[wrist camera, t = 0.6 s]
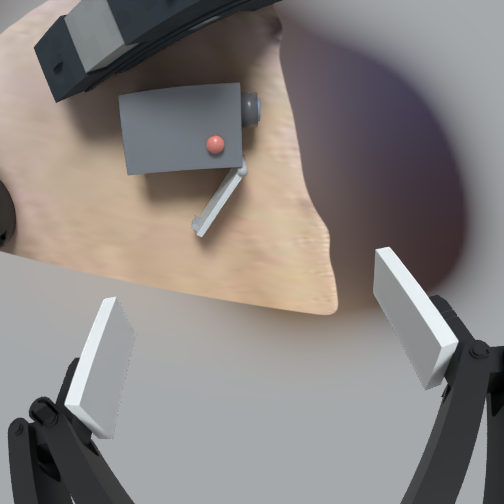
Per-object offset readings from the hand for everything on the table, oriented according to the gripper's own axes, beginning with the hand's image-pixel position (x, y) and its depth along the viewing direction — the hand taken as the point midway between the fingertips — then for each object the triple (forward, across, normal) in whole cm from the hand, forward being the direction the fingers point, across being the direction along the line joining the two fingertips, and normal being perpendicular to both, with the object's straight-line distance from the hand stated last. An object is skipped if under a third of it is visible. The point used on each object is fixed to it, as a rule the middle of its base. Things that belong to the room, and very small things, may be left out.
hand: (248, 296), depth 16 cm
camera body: (+32, -4, +5) cm, 32 cm away
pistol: (+32, -5, +20) cm, 38 cm away
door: (+31, -3, -5) cm, 32 cm away
